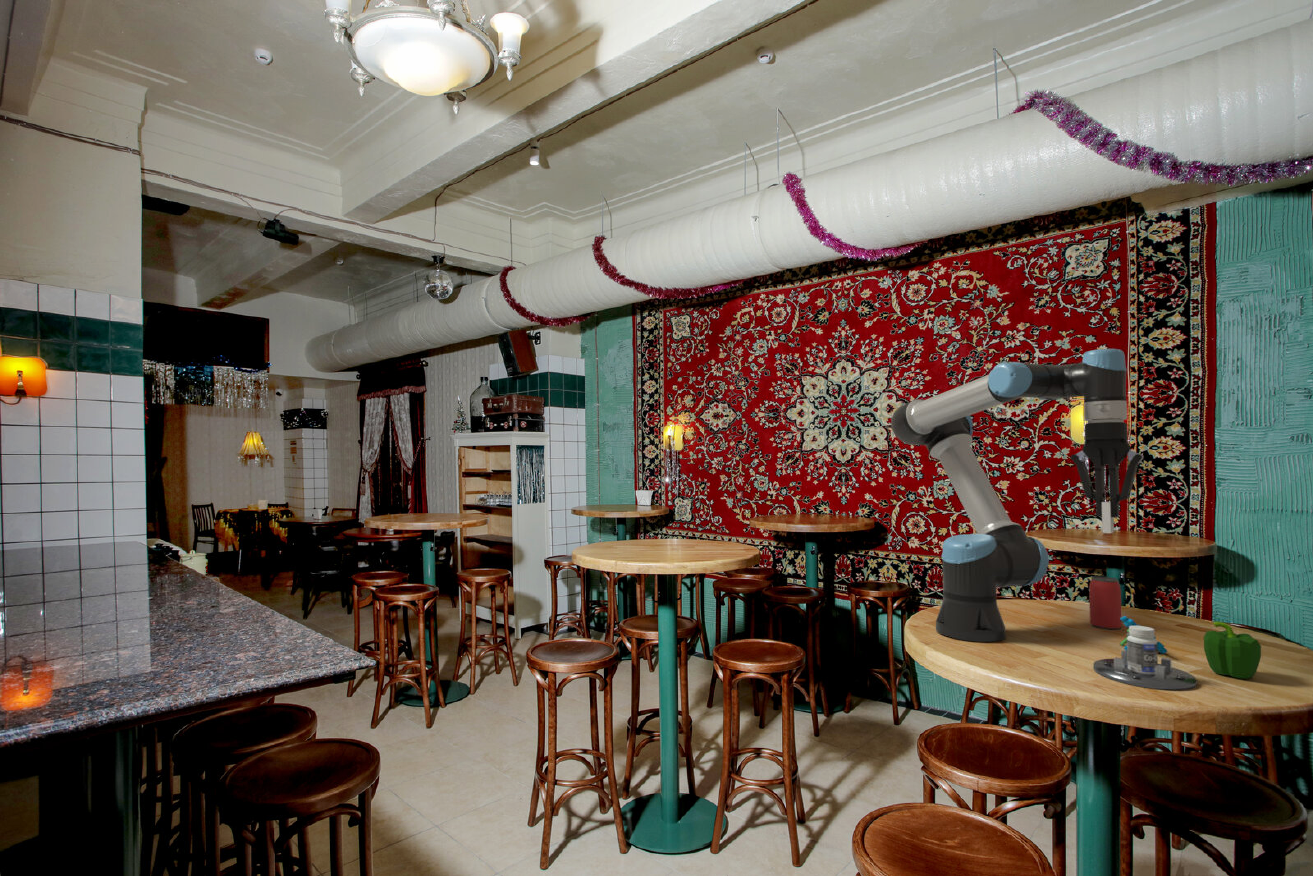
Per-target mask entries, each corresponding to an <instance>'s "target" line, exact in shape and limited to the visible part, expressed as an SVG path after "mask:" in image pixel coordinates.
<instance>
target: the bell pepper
mask: <svg viewBox="0 0 1313 876" xmlns="http://www.w3.org/2000/svg"><path fill="white" fill-rule="evenodd" d="M1213 625H1214V627H1215V628H1218V627H1220V628H1221V627H1222V628H1223V629H1225V630H1223V631H1216V630H1206V632H1205V633H1204V635H1203V648H1204V649H1203V651H1204V654H1205V657H1206V660H1207V663H1208V665H1209V667H1210V669H1211V670H1212V672H1214V673H1215V674H1219V675H1223V676H1228V677H1229V676H1231V677H1232V678H1233V677H1234V678H1236V679H1245V680H1248V679H1252V678H1253V677H1254V676H1255V675H1256V673H1257V671H1258V668H1259V666H1260V661H1261V657H1262V646H1261V644H1260V642H1259V641H1258V639H1256V638H1254V637H1253V635H1250V634H1249V633H1245V632H1244V633H1238V634H1237V633H1235V632H1234V630H1233V628H1232V627H1231V626H1230V625H1229V624H1227V623H1225V622H1221V621H1214V622H1213Z"/></svg>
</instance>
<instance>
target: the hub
mask: <svg viewBox="0 0 1313 876" xmlns="http://www.w3.org/2000/svg"><path fill="white" fill-rule="evenodd" d="M1120 654H1121V657H1117V656H1116V657H1114V658H1102V659H1099V660H1095V661H1094V662H1093V667H1092V668H1093V670H1094V672H1095V673H1097V674H1098V675H1100V676H1101V677H1104V678H1106V679H1108V680H1112V681H1115V682H1118V683H1122V684H1124V685H1129V686H1135V687H1139V688H1144V689H1145V688H1146V689H1151V690H1152V689H1153V690H1161V691H1162V690H1163V691H1187V690H1191V689H1194V688H1196V687H1197V684H1198V683H1197V677H1195V676H1194V675H1193V674H1191V673H1189V672H1186V671H1184V670H1182V669H1178V668H1177V667H1174V666H1173V665H1172V663H1173V662H1172V660H1173V659H1172V658H1167V657H1161V658H1160V659H1161V660H1160V661H1161V662H1160V663H1158V665H1156V666H1155V674H1154V675H1145V674H1139V673H1136V672H1132V671H1130V670H1129V669H1128V663H1127V662H1128V661H1127V651H1126V650H1121V653H1120Z"/></svg>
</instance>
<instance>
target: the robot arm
mask: <svg viewBox="0 0 1313 876" xmlns="http://www.w3.org/2000/svg"><path fill="white" fill-rule="evenodd" d="M1127 370H1128V369H1127V367H1126V356H1125V353H1124V351H1123V350H1122V349H1118V348H1103V349H1101V348H1100V349H1094V350H1093V349H1092V350H1089V351H1085V352H1084V353H1083V356H1082V361H1080V362H1077V363H1072V364H1070V363H1069V364H1062V365H1059V364H1039V363H1028V362H1027V363H1025V362H1018V361H1012V362H1011V361H1010V362H1001V363H998V364H997V365H995V366H994V367H993V369H992V370H990V372H989V374H987V375H985V376H982V377H979V378H977V379H975V380H972V381H969V382H967V383H964V384H962V385H959V386H957V387H955V388H952V389H950V390H947V391H944V392H942V393H939V394H937V395H935V396H934V395H933V396H931V397H929V398H927V399H925V400H923V399H913V400H912V401H909V402H906V403H904V404H902V405H900V406H899V407H898V408H897V409H896V410H895V411H894V413H893V414H892V417H891V420H890V423H891V424H890V425H891V430H892V432H893V435H894V436H895V437H896V438H897V439H898V440H900V441H901V442H902V443H904V444H907V445H910V446H911V445H912V446H925V447H926V449H927V451H928V453H929V454H930V456H931V458H934V459H937V460H939V462H940V464H941V466H942V468H943V470H944V471H945V474H946V475H947V477H948V479H949V481H950V483H951V485H952V487H953V489H954V490H955V492H956V495H957V496H958V499H959V501H960V503H961V505H962V506H963V509H964V511H965V512H966V514H967V516H968V518H969V520H970V522H971V524H972V526H973V528H974V530H975V531H976V533H970V534H958V535H952V536H950V537H947V538H946V539H945V540H944V541H943V542H942V543H943V544H942V553H941V559H942V560H941V561H942V564H941V565H942V593H943V595H942V602H941V605H940V609H939V611H938V614H937V617H936V620H935V630H936V632H937V633H938V632H939V633H938V634H940V633H941V634H940V635H942V634H943V635H942V636H944V635H945V637H947V636H950V637H949V638H951V637H952V639H955V638H956V639H955V640H961V641H969V642H979V643H990V642H991V643H992V642H999V641H1003V640H1005V639H1006V637H1007V635H1006V632H1007V631H1006V629H1007V628H1006V625H1005V623H1004V620H1003V618H1002V615H1001V611H1000V609H999V606H998V603H997V597H998V596H997V589H998V588H1008V587H1009V588H1011V587H1026V586H1028V585H1033V584H1036V583H1038V582H1040V581H1041V580H1042V579H1043V578H1044V577H1045V576H1046V574H1047V571H1048V566H1049V564H1050V563H1049V562H1050V561H1049V553H1048V551H1047V549H1046V547H1045V545H1044V544H1043V543H1042V542H1041V541H1040V540H1039V539H1035V538H1034V537H1032V536H1028V535H1027V533H1026V532H1025V530H1024V528H1023V527H1022V525H1021V524H1020V523H1016V522H1013V521H1012V520H1011V518H1010V516H1009V515H1008V512H1007V510H1006V509H1005V508H1004V506H1003V504H1002V502H1001V500H1000V498H999V496H998V495H997V493H996V491H995V489H994V488H993V486H992V484H991V482H990V480H989V479H988V477H987V474H986V473H985V471H984V469H983V468H982V466H981V464H980V462H979V460H978V458H977V457H976V455H975V453H974V451H973V449H972V447H971V445H972V442H973V432H974V429H973V427H974V423H973V419H972V416H971V415H974V414H977V413H980V412H982V411H986V410H988V409H991V408H994V407H997V406H1001V405H1002V404H1005V403H1009V402H1012V401H1015V400H1018V399H1022V398H1033V399H1034V398H1035V399H1036V398H1037V399H1039V400H1042V401H1043V400H1044V401H1046V400H1048V401H1052V400H1053V401H1056V400H1059V399H1068V398H1077V397H1078V398H1079V397H1083V399H1084V400H1083V411H1084V413H1083V415H1084V417H1083V419H1084V421H1087V423H1085V425H1084V445H1083V447H1082V450H1081V451H1079V452H1077V453H1076V454H1071V455H1070V459H1071V460H1072V461H1073V462H1074V464H1075V465H1076V468H1077V471H1078V474H1079V475H1078V477H1079V478H1080V482H1081V485H1082V489H1083V492H1084V496H1085V497H1086V498H1087V499H1090V500H1093V501H1095V507H1096V508H1095V510H1096V511H1095V513H1096V517H1101V521H1102V522H1101V523H1102V524H1101V525H1102V526H1101V527H1102V533H1103V534H1113V533H1114V532H1115V527H1114V526H1115V523H1114V518H1119V516H1120V502H1121V501H1125V500H1128V499H1129V498H1130V496H1131V494H1132V490H1133V489H1132V488H1133V486H1134V481H1135V478H1136V474H1137V471H1138V467H1139V465H1140V464H1141V463H1142V461H1143V460H1144V459H1145V456H1144V455H1143V454H1141V453H1138V452H1135V451H1134V450H1132V447H1131V446H1130V444H1129V441H1128V424H1127V422H1124V421H1126V420H1127V419H1128V405H1127V404H1128V402H1127V391H1126V390H1127ZM1127 456H1128V457H1127ZM1086 457H1087V458H1088V459H1089V460H1090V462H1091V463H1092V464H1093V467H1094V468H1093V469H1094V486H1093V484H1092V481H1091V477H1090V473H1089V472H1088V468H1087V465H1086V464H1087V463H1085V461H1086V460H1087V459H1086ZM1126 457H1127V460H1128V461H1129V463H1128V466H1127V469H1126V472H1125V476H1124V481H1123V485H1122V488H1121V491H1120V478H1119V477H1120V473H1119V471H1120V464H1121V463H1122V462H1123V460H1125V458H1126ZM1106 465H1107V467H1108V473H1109V475H1108V477H1109V479H1108V480H1109V482H1108V483H1109V485H1108V486H1109V499H1108V501H1106V495H1105V494H1106V489H1105V488H1106V486H1105V485H1106V483H1105V482H1106V481H1105V468H1106Z"/></svg>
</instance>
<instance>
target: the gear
mask: <svg viewBox="0 0 1313 876" xmlns="http://www.w3.org/2000/svg"><path fill="white" fill-rule="evenodd" d="M1120 620H1121V621H1122V623H1123V625H1124V626H1125V627H1126V628H1128V629H1127V630H1126V632H1127V633H1126V634H1125V636H1126V637H1125V638H1124V639H1123V640H1122V641H1121V642H1120V643H1119V645H1121V646H1122V647H1123V649H1124V651H1127V637H1128V636H1130V635H1131V634H1129V626H1141V625H1140V624H1137V623H1136V622H1135V620H1134V619H1131V618H1129V617H1128V616H1126V615H1124V616H1122V615H1121V618H1120ZM1153 638H1154V639H1155V640H1157V638H1156V636H1155V637H1153ZM1157 652H1159V653H1160V654H1162V655H1163V654H1164V655H1165V654H1167V653H1168V649H1167V648H1166V647H1165V645H1164V644H1163V643H1162V642H1160V641H1157Z"/></svg>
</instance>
